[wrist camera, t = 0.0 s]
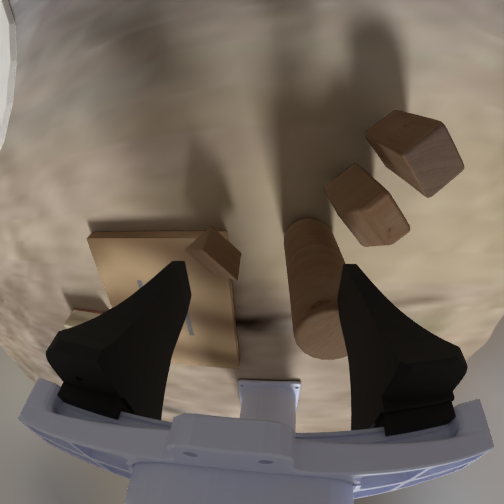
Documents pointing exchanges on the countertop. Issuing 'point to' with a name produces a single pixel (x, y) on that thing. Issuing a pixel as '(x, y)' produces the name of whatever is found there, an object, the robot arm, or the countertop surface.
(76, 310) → the block
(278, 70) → the countertop surface
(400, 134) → the wooden block set
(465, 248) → the countertop surface
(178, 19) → the countertop surface
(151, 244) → the board
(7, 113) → the dish
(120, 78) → the countertop surface
